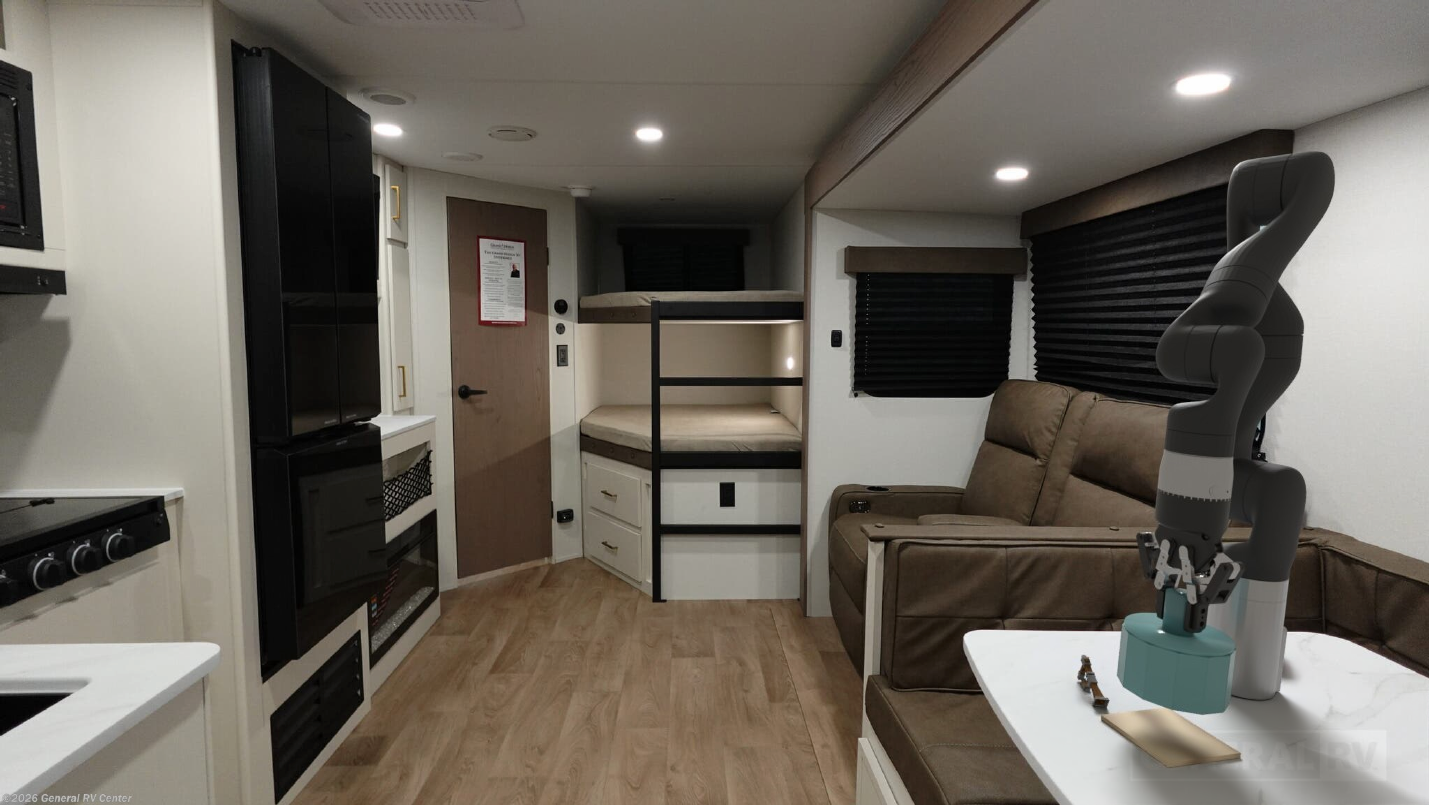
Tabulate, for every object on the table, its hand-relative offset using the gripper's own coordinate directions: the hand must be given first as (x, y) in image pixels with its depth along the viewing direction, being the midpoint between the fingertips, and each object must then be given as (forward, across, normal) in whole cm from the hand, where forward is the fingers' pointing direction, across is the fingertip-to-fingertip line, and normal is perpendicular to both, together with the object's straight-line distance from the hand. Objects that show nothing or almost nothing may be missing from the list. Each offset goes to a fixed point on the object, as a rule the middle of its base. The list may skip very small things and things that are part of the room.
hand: (1178, 624), depth 90 cm
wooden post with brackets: (+15, +11, +2) cm, 19 cm away
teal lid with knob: (+8, 0, 0) cm, 8 cm away
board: (+15, 0, 0) cm, 15 cm away
